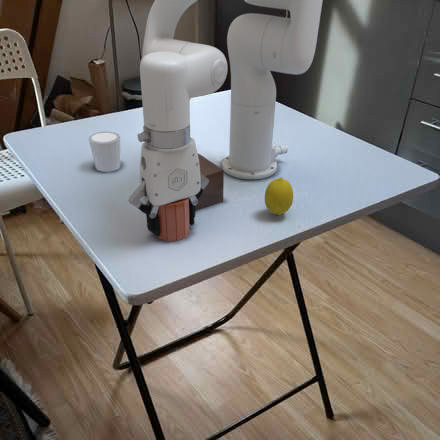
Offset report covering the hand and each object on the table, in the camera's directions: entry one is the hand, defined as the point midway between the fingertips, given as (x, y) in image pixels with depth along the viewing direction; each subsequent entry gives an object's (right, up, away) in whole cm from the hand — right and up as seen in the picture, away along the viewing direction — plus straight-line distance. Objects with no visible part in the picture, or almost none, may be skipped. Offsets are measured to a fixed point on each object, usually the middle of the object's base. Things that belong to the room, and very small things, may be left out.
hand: (171, 226), depth 97 cm
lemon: (+20, +3, +6) cm, 21 cm away
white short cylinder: (-17, +16, +22) cm, 32 cm away
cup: (0, -1, +1) cm, 1 cm away
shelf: (+2, +7, +10) cm, 13 cm away
